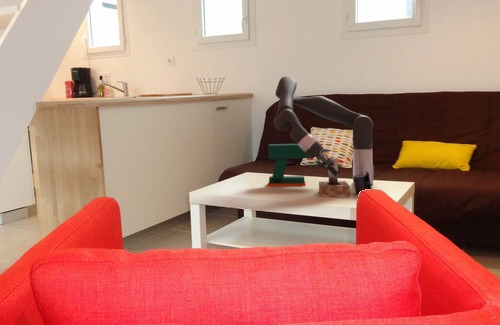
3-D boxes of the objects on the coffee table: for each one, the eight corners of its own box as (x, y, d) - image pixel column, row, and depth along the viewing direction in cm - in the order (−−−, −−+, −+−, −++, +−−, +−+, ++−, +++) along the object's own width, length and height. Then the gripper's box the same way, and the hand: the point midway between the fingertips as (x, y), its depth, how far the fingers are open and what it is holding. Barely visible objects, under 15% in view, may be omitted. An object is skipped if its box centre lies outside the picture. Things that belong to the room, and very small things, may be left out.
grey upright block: (329, 185, 209) (329, 157, 207) (338, 186, 208) (338, 157, 206) (327, 188, 202) (327, 159, 201) (336, 188, 201) (336, 159, 199)
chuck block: (345, 190, 211) (345, 181, 210) (349, 196, 199) (349, 186, 198) (318, 191, 212) (318, 181, 211) (321, 196, 200) (321, 186, 199)
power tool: (332, 183, 232) (332, 143, 229) (333, 185, 225) (333, 144, 222) (268, 183, 235) (268, 144, 232) (267, 186, 228) (267, 145, 225)
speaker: (374, 193, 203) (371, 170, 202) (372, 196, 198) (369, 172, 197) (356, 193, 206) (354, 171, 205) (354, 197, 201) (351, 173, 200)
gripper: (307, 150, 214) (334, 177, 211) (301, 153, 200) (329, 182, 198) (319, 138, 211) (345, 166, 209) (313, 141, 198) (342, 170, 196)
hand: (337, 173), depth 204 cm, fingers closed on grey upright block, 4 cm apart
